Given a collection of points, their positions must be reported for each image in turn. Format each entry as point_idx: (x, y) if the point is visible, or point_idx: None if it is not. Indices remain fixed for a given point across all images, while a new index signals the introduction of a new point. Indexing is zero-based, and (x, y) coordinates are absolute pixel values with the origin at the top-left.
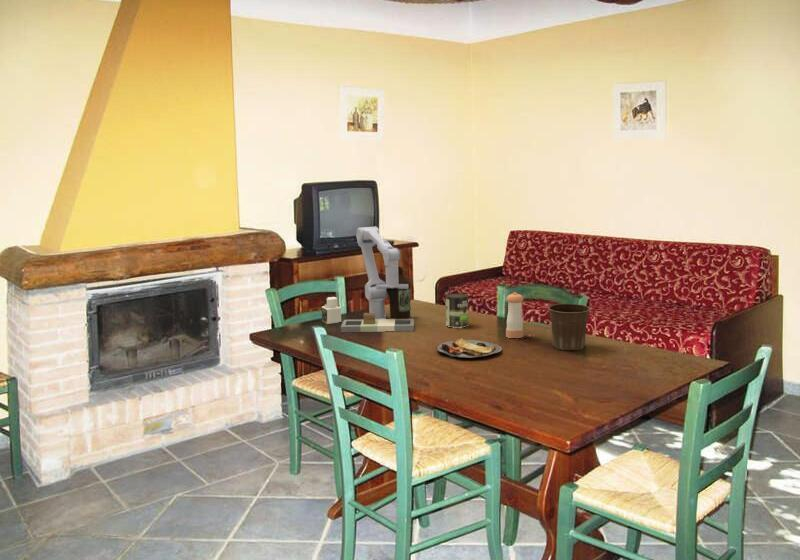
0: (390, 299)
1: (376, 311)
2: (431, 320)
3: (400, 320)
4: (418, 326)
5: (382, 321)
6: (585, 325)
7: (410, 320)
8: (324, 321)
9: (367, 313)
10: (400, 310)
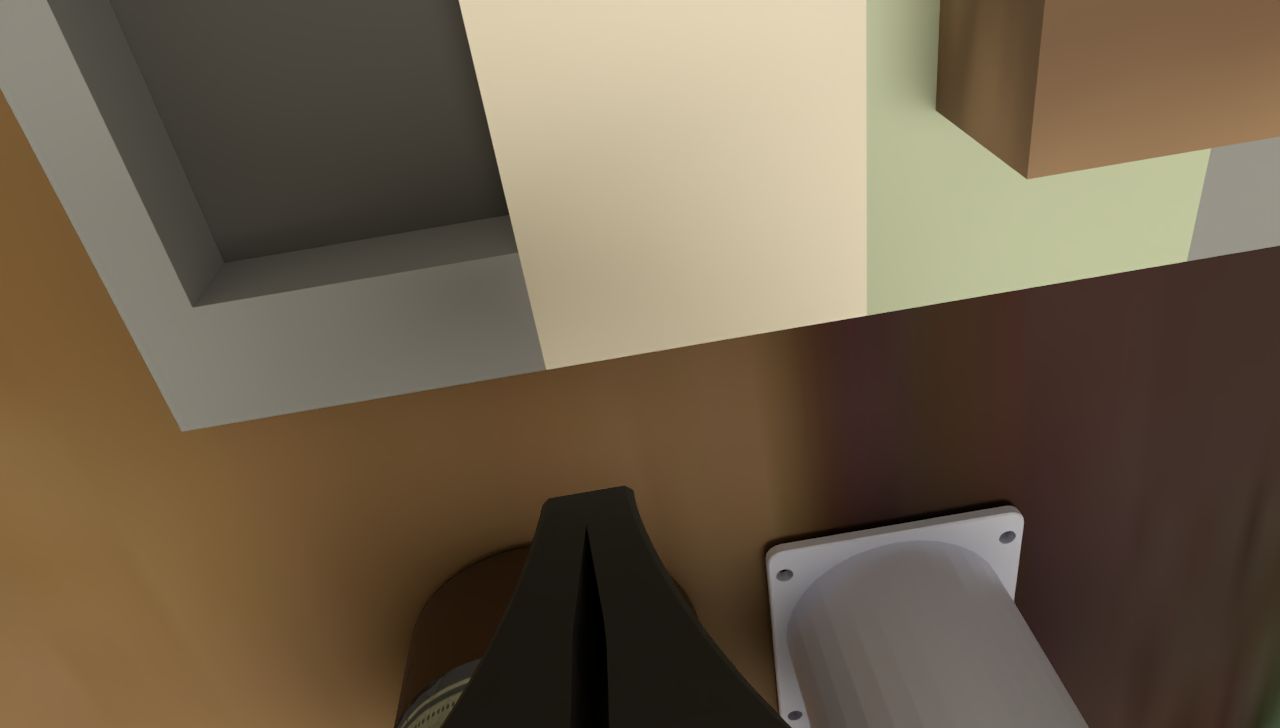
0: (660, 591)
1: (942, 632)
2: (40, 617)
3: (404, 269)
4: (41, 212)
5: (775, 123)
6: None
7: (194, 303)
8: None
9: (1242, 72)
10: None
